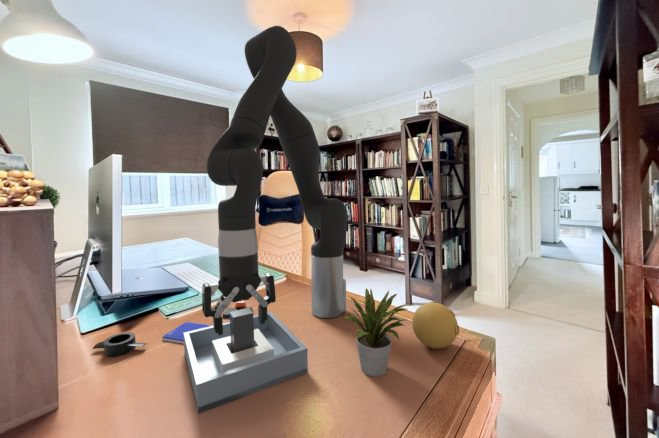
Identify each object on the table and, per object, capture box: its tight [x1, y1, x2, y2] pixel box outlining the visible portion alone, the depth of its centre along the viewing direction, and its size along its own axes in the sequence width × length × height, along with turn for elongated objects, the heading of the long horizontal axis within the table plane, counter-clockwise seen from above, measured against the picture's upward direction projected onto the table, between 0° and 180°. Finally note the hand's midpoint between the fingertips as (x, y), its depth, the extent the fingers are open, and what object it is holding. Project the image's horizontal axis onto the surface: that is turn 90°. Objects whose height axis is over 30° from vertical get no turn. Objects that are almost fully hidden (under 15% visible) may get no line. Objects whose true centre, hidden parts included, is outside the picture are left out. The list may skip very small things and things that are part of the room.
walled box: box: [183, 311, 309, 414], centre depth 61 cm, size 20×20×5 cm
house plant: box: [344, 287, 414, 377], centre depth 57 cm, size 14×14×16 cm
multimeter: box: [221, 300, 253, 319], centre depth 91 cm, size 18×12×3 cm, turn 176°
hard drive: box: [161, 321, 213, 345], centre depth 73 cm, size 2×8×12 cm
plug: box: [229, 307, 254, 354], centre depth 61 cm, size 4×3×10 cm
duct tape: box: [92, 331, 148, 358], centre depth 66 cm, size 8×10×3 cm
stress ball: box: [411, 302, 460, 350], centre depth 67 cm, size 10×10×10 cm
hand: (241, 328), depth 60 cm, fingers open, 8 cm apart
